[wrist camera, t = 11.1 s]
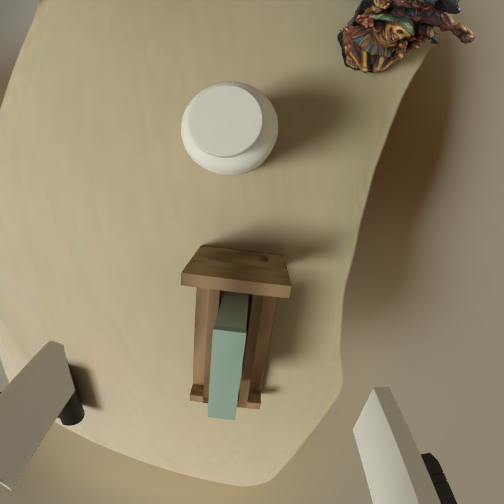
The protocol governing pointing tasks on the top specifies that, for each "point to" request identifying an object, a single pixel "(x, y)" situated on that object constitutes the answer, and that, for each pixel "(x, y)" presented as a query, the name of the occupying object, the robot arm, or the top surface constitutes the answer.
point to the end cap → (72, 409)
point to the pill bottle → (229, 128)
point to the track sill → (258, 316)
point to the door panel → (227, 355)
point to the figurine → (395, 30)
